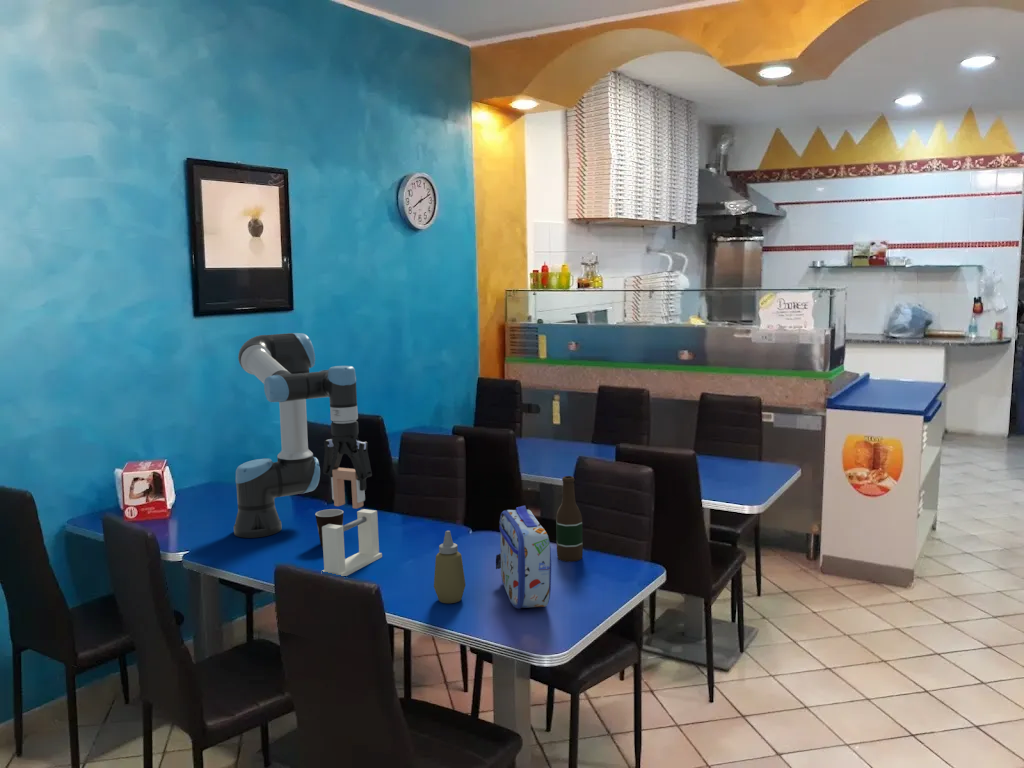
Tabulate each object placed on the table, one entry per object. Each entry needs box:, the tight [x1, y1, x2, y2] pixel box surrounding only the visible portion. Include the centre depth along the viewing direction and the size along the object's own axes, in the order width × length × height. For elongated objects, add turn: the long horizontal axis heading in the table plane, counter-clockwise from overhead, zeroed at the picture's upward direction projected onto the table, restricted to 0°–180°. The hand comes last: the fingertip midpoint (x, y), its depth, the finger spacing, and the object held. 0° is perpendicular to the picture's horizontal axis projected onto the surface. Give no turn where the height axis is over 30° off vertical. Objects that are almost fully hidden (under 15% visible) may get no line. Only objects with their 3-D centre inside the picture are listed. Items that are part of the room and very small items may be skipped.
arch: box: [332, 467, 364, 510], centre depth 236 cm, size 8×3×10 cm, turn 63°
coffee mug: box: [314, 508, 344, 548], centre depth 260 cm, size 12×9×10 cm
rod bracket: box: [321, 508, 383, 577], centre depth 238 cm, size 7×19×14 cm, turn 154°
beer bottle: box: [555, 475, 584, 563], centre depth 239 cm, size 8×8×24 cm
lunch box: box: [495, 505, 552, 609], centre depth 212 cm, size 28×10×22 cm, turn 12°
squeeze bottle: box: [433, 530, 466, 604], centre depth 211 cm, size 8×8×18 cm
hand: (348, 499), depth 236 cm, fingers closed on arch, 8 cm apart
